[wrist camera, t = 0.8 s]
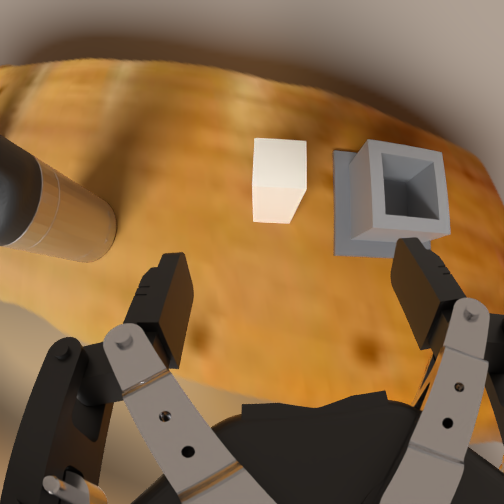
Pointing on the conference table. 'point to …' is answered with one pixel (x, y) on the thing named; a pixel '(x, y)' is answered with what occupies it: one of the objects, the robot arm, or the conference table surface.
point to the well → (387, 198)
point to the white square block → (278, 179)
